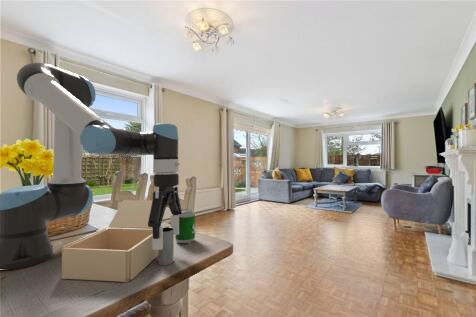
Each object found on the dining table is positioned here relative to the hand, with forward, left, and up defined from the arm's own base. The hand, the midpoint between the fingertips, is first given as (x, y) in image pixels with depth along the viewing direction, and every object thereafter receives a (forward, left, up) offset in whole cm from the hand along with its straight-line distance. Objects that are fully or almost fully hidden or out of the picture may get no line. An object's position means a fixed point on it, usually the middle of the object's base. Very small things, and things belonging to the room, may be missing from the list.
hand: (167, 241), depth 74 cm
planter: (0, 0, -7) cm, 7 cm away
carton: (-15, -3, -7) cm, 17 cm away
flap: (-15, +6, +2) cm, 16 cm away
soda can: (0, +19, -7) cm, 20 cm away
